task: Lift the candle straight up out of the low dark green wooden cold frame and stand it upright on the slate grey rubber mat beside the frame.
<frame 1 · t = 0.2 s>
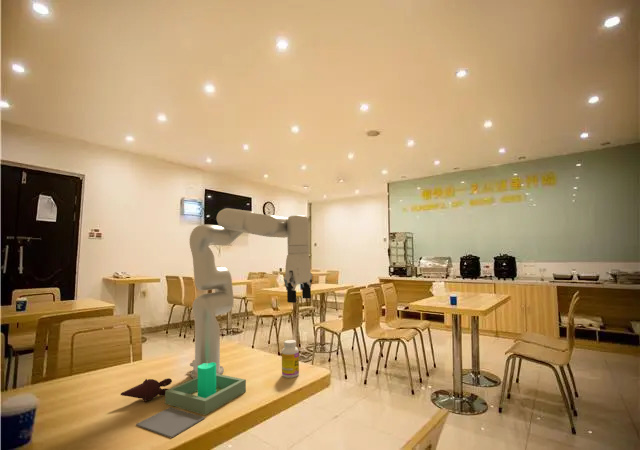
hand: (299, 300, 112), 31 cm above the table, tool pointing down, fingers open, 9 cm apart
icecream: (146, 401, 107), on the table
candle: (206, 398, 108), resting in cold frame
rubber mat: (170, 422, 92), on the table
cold frame: (206, 397, 108), on the table
supplement bottle: (290, 375, 126), on the table
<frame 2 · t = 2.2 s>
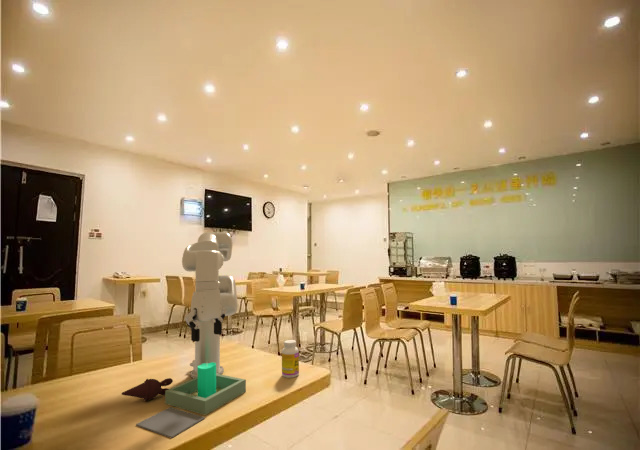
hand: (207, 337, 109), 20 cm above the table, tool pointing down, fingers open, 9 cm apart
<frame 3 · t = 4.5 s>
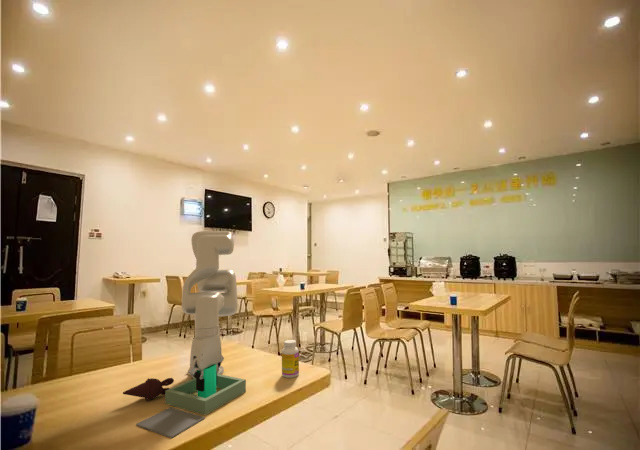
hand: (206, 386, 108), 3 cm above the table, tool pointing down, fingers closed on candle, 4 cm apart
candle: (206, 398, 108), resting in cold frame, touching gripper
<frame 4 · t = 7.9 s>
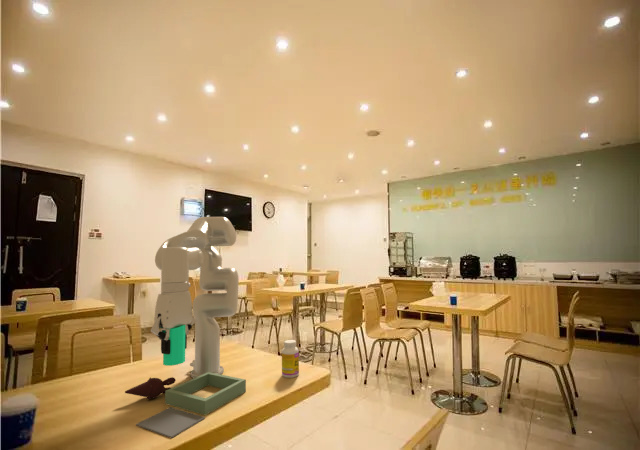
hand: (174, 350, 95), 20 cm above the table, tool pointing down, fingers closed on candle, 4 cm apart
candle: (174, 362, 95), point 16 cm above the table, touching gripper
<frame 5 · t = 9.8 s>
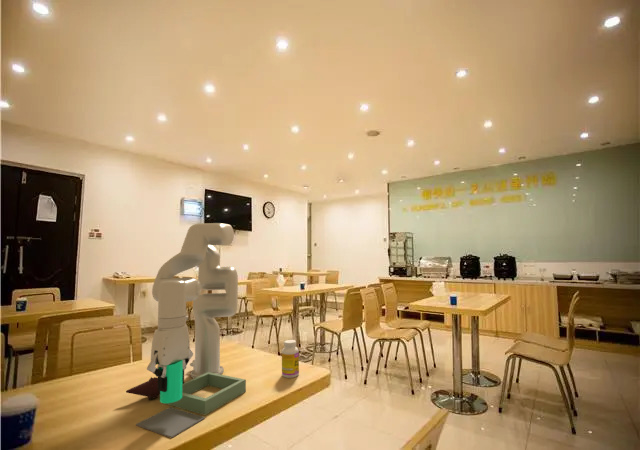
hand: (171, 386, 93), 10 cm above the table, tool pointing down, fingers closed on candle, 4 cm apart
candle: (171, 399, 93), point 6 cm above the table, touching gripper
when the fingers open (5 cm above the table, at t = 11.6 s): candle stays where it is, resting on rubber mat.
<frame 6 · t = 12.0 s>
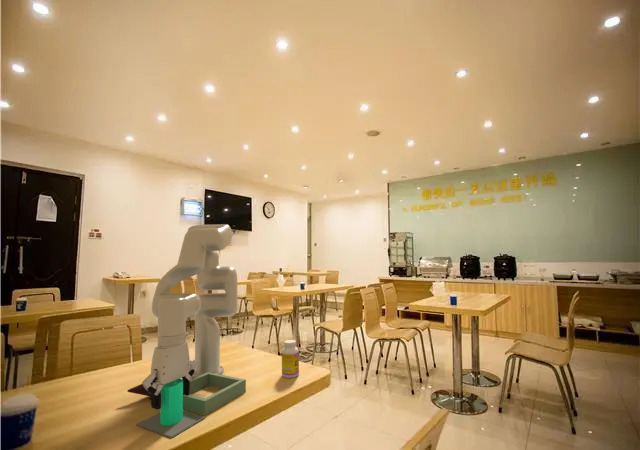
hand: (171, 401, 93), 6 cm above the table, tool pointing down, fingers open, 9 cm apart
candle: (171, 420, 93), resting on rubber mat
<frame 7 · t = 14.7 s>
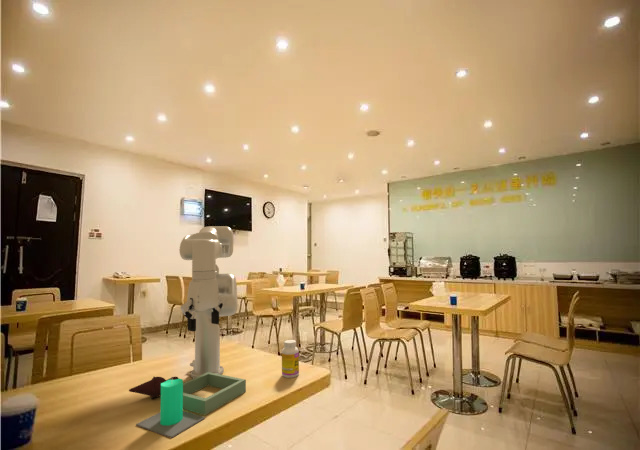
hand: (204, 327, 109), 23 cm above the table, tool pointing down, fingers open, 9 cm apart
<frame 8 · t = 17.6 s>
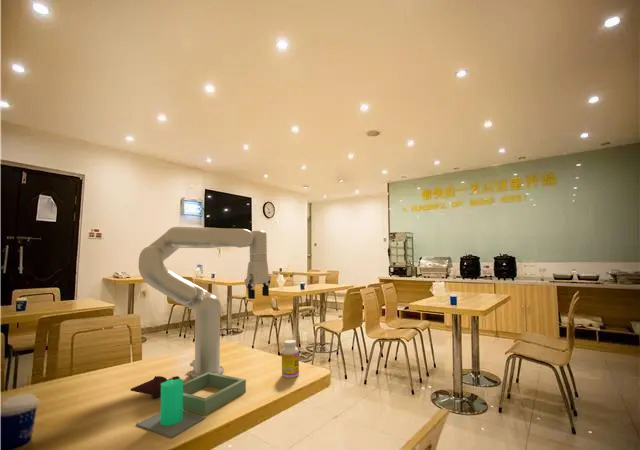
hand: (258, 297, 143), 28 cm above the table, tool pointing down, fingers open, 9 cm apart
at the end: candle inside the target area (0.2 cm from its centre), resting on rubber mat; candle tilted 0°; the gripper is holding nothing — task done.
